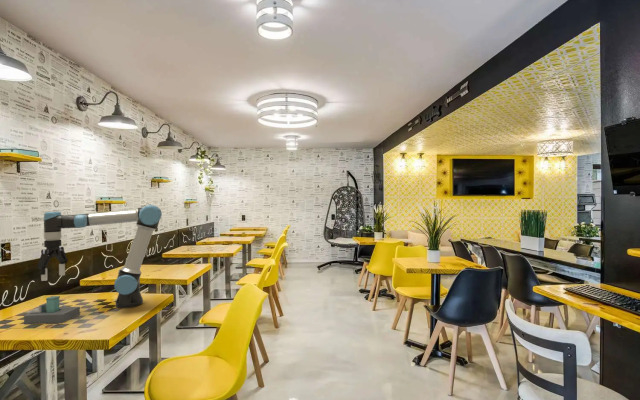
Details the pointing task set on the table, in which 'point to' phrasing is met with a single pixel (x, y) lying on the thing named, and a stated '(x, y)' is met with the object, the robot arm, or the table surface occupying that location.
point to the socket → (52, 316)
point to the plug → (52, 304)
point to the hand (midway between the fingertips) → (53, 277)
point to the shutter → (39, 309)
